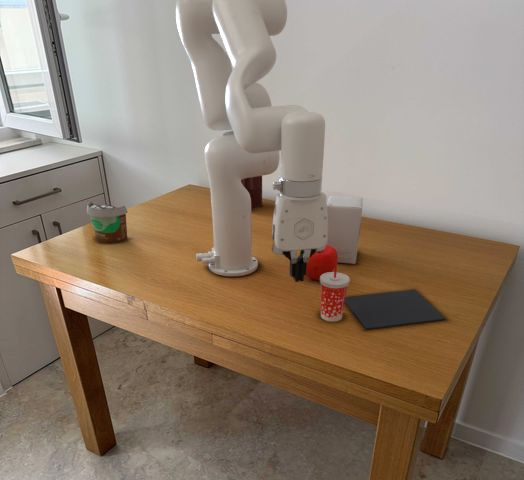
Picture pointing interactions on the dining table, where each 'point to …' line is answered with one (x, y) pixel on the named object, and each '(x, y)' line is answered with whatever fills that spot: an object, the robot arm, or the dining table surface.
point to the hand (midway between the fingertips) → (297, 278)
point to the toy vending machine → (252, 186)
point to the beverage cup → (333, 294)
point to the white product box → (344, 226)
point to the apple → (321, 263)
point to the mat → (392, 309)
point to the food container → (108, 222)
